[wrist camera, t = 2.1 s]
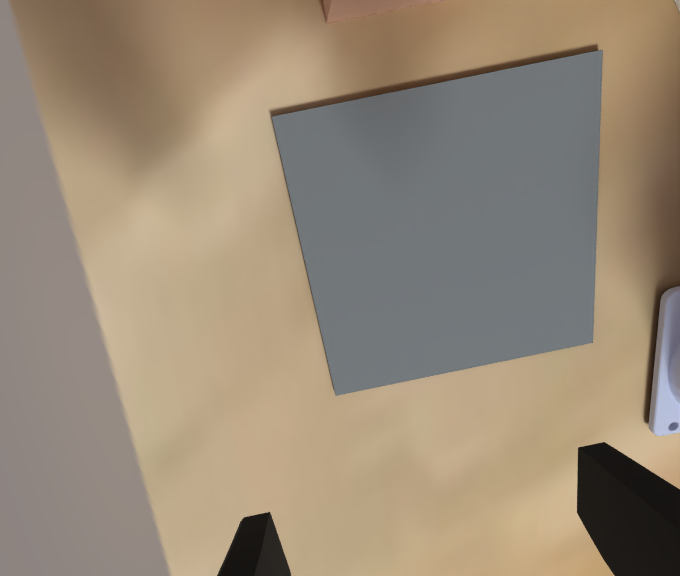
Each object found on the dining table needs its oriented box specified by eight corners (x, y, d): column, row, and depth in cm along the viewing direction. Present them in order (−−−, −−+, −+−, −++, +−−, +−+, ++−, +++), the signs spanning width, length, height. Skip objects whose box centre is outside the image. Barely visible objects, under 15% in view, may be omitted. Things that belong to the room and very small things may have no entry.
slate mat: (599, 50, 15) (602, 49, 15) (590, 340, 20) (592, 342, 19) (272, 116, 15) (271, 116, 15) (335, 393, 20) (335, 395, 19)
